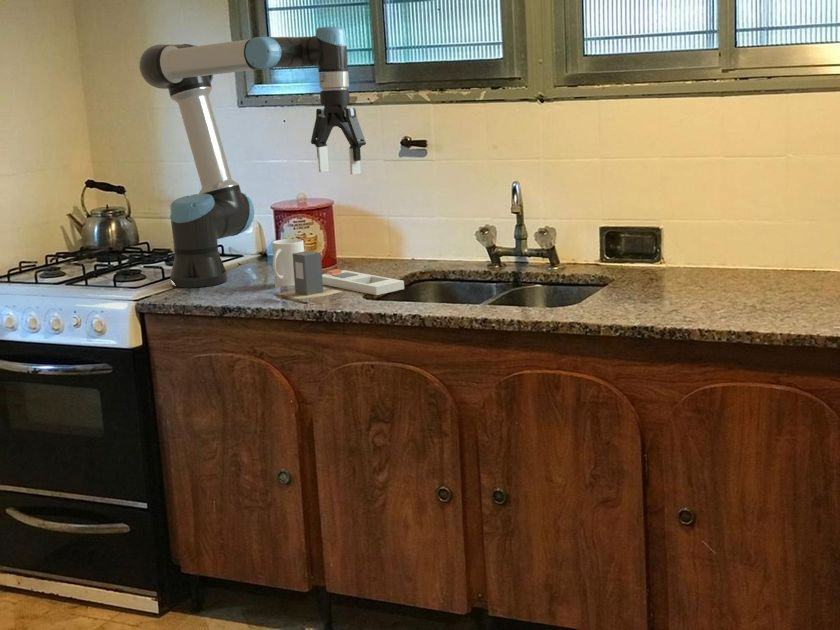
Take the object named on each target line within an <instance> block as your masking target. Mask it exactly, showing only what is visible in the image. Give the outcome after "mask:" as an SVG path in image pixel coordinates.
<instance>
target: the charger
mask: <svg viewBox="0 0 840 630" xmlns="http://www.w3.org/2000/svg"><path fill="white" fill-rule="evenodd" d="M322 263H323V262H322V252H319V251H313V250H306V251H305V250H304V252H299V253H293V267H294V281H295V286H294V290H295V293H298V294H302V295H307V296H308V295H312V294H317V293H322V292H323V287H324V284H323V279H322V274H323V267H322V266H323V265H322Z"/></svg>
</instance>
